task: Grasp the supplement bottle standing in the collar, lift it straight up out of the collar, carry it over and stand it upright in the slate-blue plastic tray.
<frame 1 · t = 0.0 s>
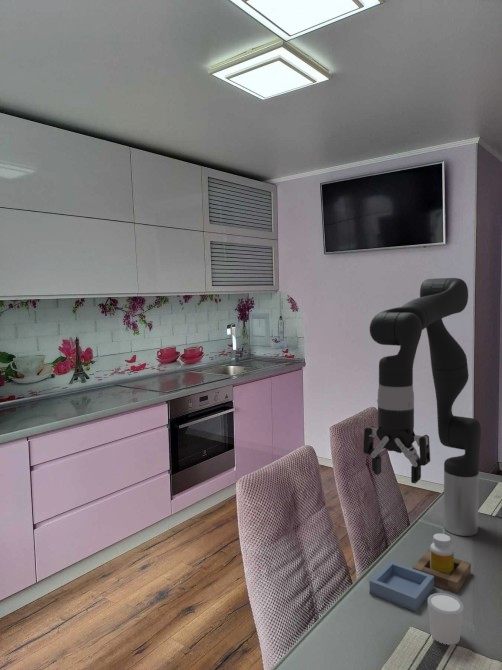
hand: (395, 477, 108), 29 cm above the table, tool pointing down, fingers open, 8 cm apart
tray: (402, 590, 116), on the table
collar: (441, 575, 122), on the table
supplement bottle: (441, 575, 122), resting in collar
shot glass: (445, 636, 101), on the table
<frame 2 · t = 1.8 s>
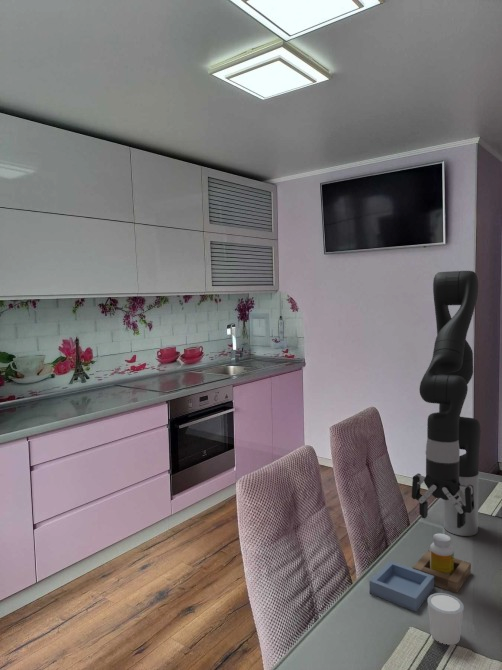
hand: (441, 521, 121), 14 cm above the table, tool pointing down, fingers open, 8 cm apart
nothing on the table moved.
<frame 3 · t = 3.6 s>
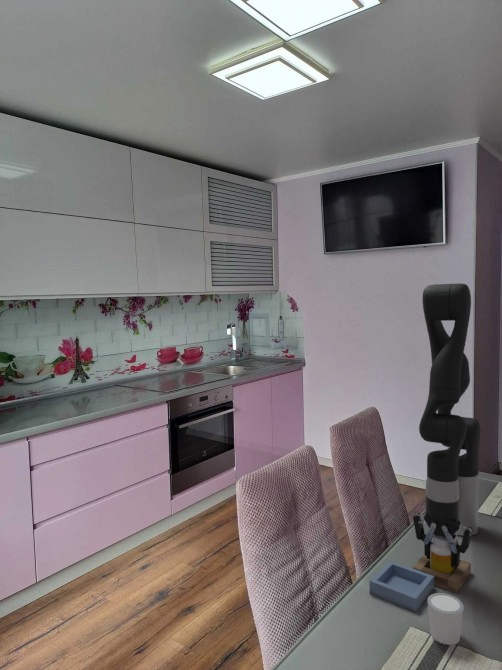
hand: (441, 561, 122), 3 cm above the table, tool pointing down, fingers closed on supplement bottle, 5 cm apart
supplement bottle: (441, 575, 122), resting in collar, touching gripper
everything else where it was.
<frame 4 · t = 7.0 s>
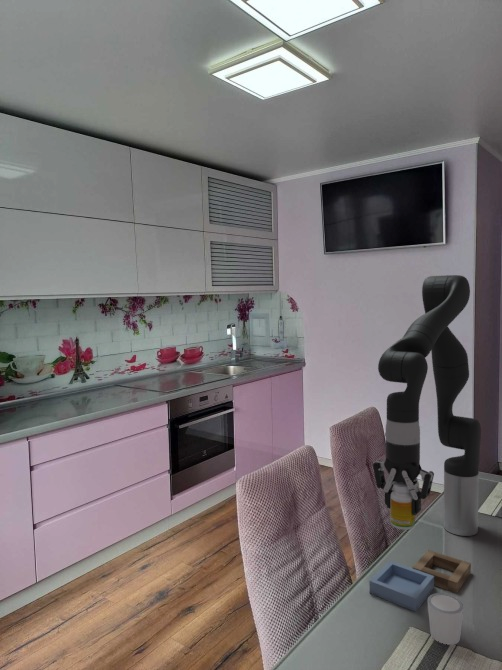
hand: (402, 510, 114), 20 cm above the table, tool pointing down, fingers closed on supplement bottle, 5 cm apart
supplement bottle: (402, 525, 115), point 16 cm above the table, touching gripper
everything else where it was.
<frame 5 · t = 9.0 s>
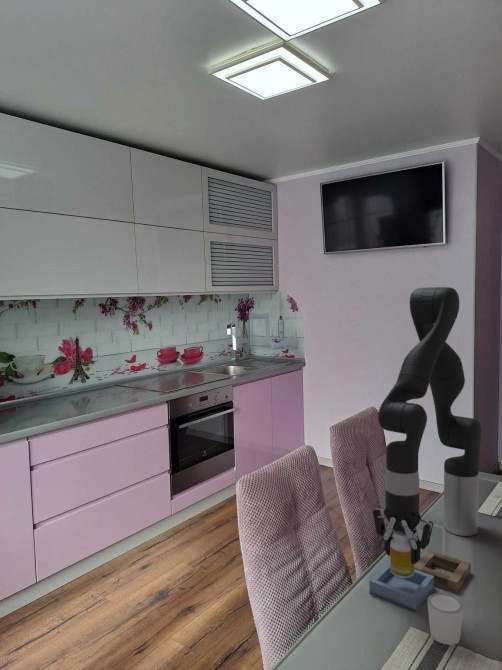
hand: (402, 557, 115), 8 cm above the table, tool pointing down, fingers closed on supplement bottle, 5 cm apart
supplement bottle: (402, 573, 116), point 4 cm above the table, touching gripper
everything else where it was.
when the fingers open (6 cm above the table, at t = 10.4 s): supplement bottle drops 2 cm, resting on tray.
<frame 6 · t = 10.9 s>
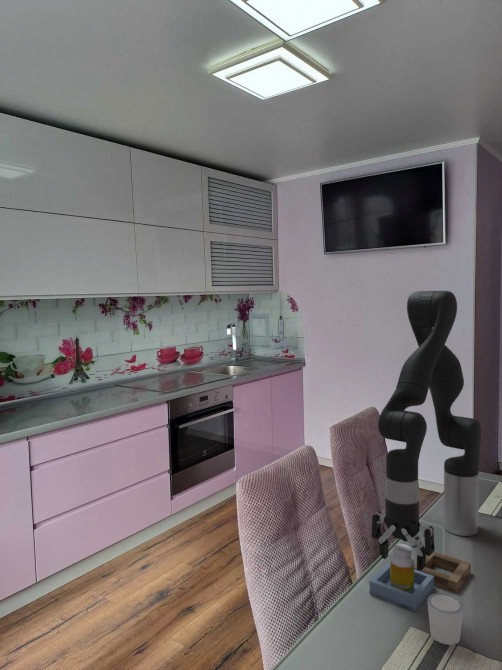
hand: (402, 563, 115), 7 cm above the table, tool pointing down, fingers open, 8 cm apart
supplement bottle: (401, 588, 116), resting on tray
everything else where it was.
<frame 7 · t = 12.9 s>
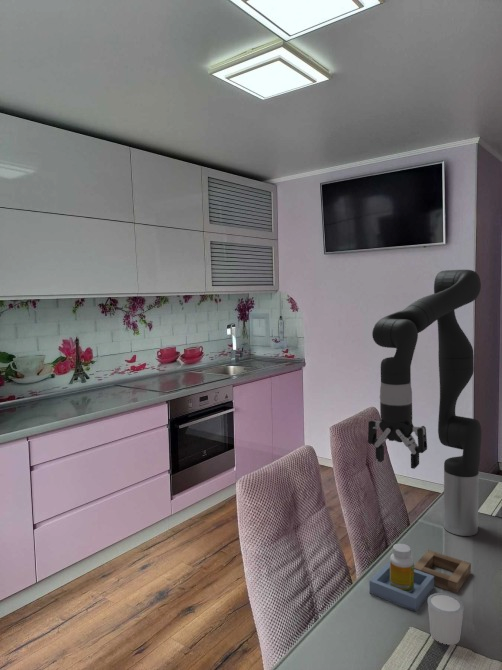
hand: (397, 464, 123), 27 cm above the table, tool pointing down, fingers open, 8 cm apart
nothing on the table moved.
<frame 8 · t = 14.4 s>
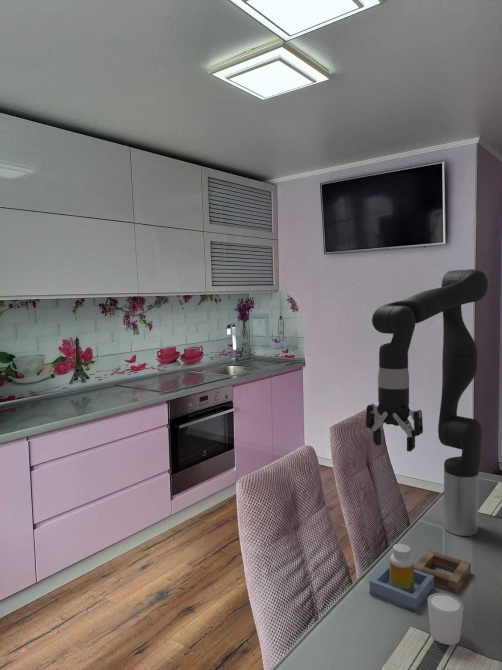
hand: (393, 447, 126), 30 cm above the table, tool pointing down, fingers open, 8 cm apart
nothing on the table moved.
at the end: supplement bottle 0.1 cm off-centre on the tray, point 0.4 cm above the tray's base; supplement bottle tilted 0°; the gripper is holding nothing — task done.
